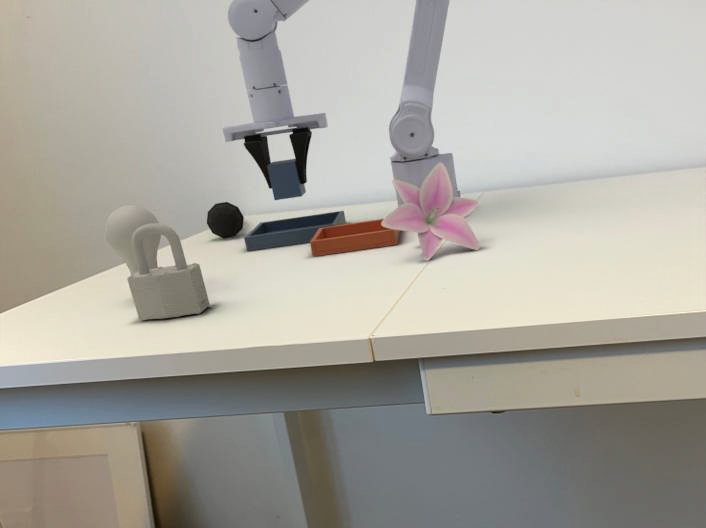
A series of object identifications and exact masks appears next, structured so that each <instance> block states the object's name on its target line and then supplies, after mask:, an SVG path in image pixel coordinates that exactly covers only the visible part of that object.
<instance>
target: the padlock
mask: <svg viewBox="0 0 706 528" xmlns="http://www.w3.org/2000/svg"><path fill="white" fill-rule="evenodd" d="M150 234H161V236H164V237H165V238H166V239H167V242H168V244H169V245H170V250H171V253H172V257H173V261H174V264H175V265H168V266H158V268H155V269H149V266H148V263H147V259H146V256H145V252H144V249H143V238H144V237H145V236H147V235H150ZM131 244H132V250H133V254H134V257H135V260H136V264H137V267H138V272H136V273H134V274H133V275H131V274H130V275H129V276H127V283H128V286H129V290H130V293H131V297H132V300H133V304H134V307H135V311H136V315H137V316H138V317H137V318H138V320H140V321H146V320H157V319H158V320H164V319H169V318H170V319H171V318H181V317H182V316H189V315H194V314H195V315H200V314H201V313H203V311H204V310H206V309H207V308H208V307H209V306H210V305H211V304H210V300H209V296H208V292H207V288H206V284H205V280H204V276H203V272H202V269H201V265H200V263H196V262H193V263H192V264H191V263H190V264H187V260H186V256H185V252H184V248H183V245H182V242H181V239H180V238H179V235H178V233H177V232H176V230H174V229H173V228H172V227H171V226H169V225H167V224H165V223H160V222H159V223H152V224H146V225H143V226H141V227H139V228H137V229H136V231H135V232H134V233H133V235H132V239H131Z"/></svg>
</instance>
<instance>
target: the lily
mask: <svg viewBox="0 0 706 528" xmlns="http://www.w3.org/2000/svg"><path fill="white" fill-rule="evenodd" d="M391 181H392V185H393V187H394V189H396V190H397V192H398V194H399V195H400V197H401V199H402V200H403V202H404V203H405V204H402V205H401V206H399V207H398V206H397V207H396V208H395V209H393V210H392V211H391V212H390V213H388V215H386V216H385V217H384V218H383V219H384V220H383V221H382V222H381V225H382V226H383V227H386V228H389V229H396V230H400V231H403V232H411V233H415V234H416V233H417V238H418V243H419V247H420V249H421V253H422V256H423V259H424V260H425V261H426V262H428V261H430V260H431V258H432V257H434V255H435V254H436V252H437V250H439V248H440V245H441V244H442V242H443V240H445V241H448V242H451V243H454V244H457V245H459V246H462V247H465V248H468V249H471V250H475V251H479V250H480V248H481V247H480V243H479V241H478V238H477V236H476V234H475V232H474V231H473V229H472V227H471V226H470V225H469V222H467V221H466V220H465V217H466V216H468V215H469V214H470V213H472V212H473V211H474V210H476V208H477V207H478V206H480V205H479V204H480V202H479V201H477V200H475V199H472V198H468V197H462V196H461V197H453V189H452V185H451V181H450V178H449V175H448V172H447V169H446V167H445V166H444V164H443V163H438V164H437V165H436V166H435V167H434V168H433V169H432V170H431V172H430V173H429V175H428V176H427V178H426V179H425V181H424V182H423V184H422V186H421V189H420V188H418V187H416V186H414V185H412V184H409V183H406V182H403V181H400V180H394V179H392V180H391ZM396 190H395V191H396Z"/></svg>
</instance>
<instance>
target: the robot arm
mask: <svg viewBox="0 0 706 528" xmlns="http://www.w3.org/2000/svg"><path fill="white" fill-rule="evenodd" d="M309 2H310V0H231V3H230V4H229V6H228V10H227V21H228V24H229V26H230V29H232V31H233V32H234V33H235V34H236V38H235V39H236V46H237V49H238V51H239V62H240V66H241V71H242V75H243V80H244V84H245V85H244V86H245V89H246V93H247V98H248V102H249V107H250V111H251V116H252V121H253V122H251V123H250V122H249V123H244V124H238V125H232V126H224V127H223V128H222V133H223V136H224V141H225V142H226V143H229V142H234V141H240V140H244V142H243V146H244V148H245V150H247V152H248V154H249V155H250V156H251V157H252V158H253V160H254V162H255V163H256V164H257V166H258V167H259V169H260V171H261V173H262V175H263V177H264V179H265V182H266V184H267V186H268V189H269V190H270V189H271V190H272V186H271V182H270V177H269V172H268V168H267V165H269V164H270V163H272V162H271V155H270V149H269V140H268V136H275V135H281V134H288V133H289V135H288V137H289V140H290V143H291V147H292V150H293V155H294V159H296V163H297V170H298V176H299V180H300V184H304V185H305V184H306V183H307V182H308V179H307V163H308V156H309V155H308V154H309V149H310V143H311V141H312V136H313V133H312V132H313V131H311V130H317V129H326V128H327V127H328V126H329V123H328V119H327V113H326V112H322V113H320V112H319V113H313V114H306V115H298V116H295V115H294V110H293V104H292V99H291V95H290V90H289V89H290V88H289V85H288V80H287V75H286V74H287V73H286V70H285V65H284V61H283V55H282V51H281V49H280V47H279V42H278V37H277V33H276V32H277V29H278V22H286V21H287V20H288V19H290V18H291V17H292V16H293V15H294V14H295V13H296V12H298V11H299V10H300V9H301V8H302V7H303V6H305V5H306V4H307V3H309ZM449 6H450V0H415V6H414V12H413V18H412V25H411V31H410V32H411V33H410V38H409V44H408V50H407V57H406V62H405V68H404V70H405V71H404V75H403V81H402V88H401V93H400V97H399V104H398V107H397V110H396V112H395V114H394V115H393V116H392V118H391V119H390V122H389V125H388V133H389V140H390V144H391V146H392V148H393V149H394V150H395V152H394V154H393V155H391V156H390V157H389V159H390V165H391V172H392V177H393V180H400V181H403V182H406V183H409V184H412V185H414V186H416V187H418V188H420V189H421V186H422V184H423V182H424V181H425V179H426V178H427V176H428V175H429V173H430V172H431V170H432V169H433V168H434V167H435V166H436V165H437V164H438V163H443V164H444V166H445V167H446V169H447V172H448V175H449V178H450V181H451V185H452V189H453V197H461V198H462V195H461V190H458V185H457V184H458V183H457V176H456V170H455V162H454V156H453V153H452V152H448V153H447V152H446V153H440V151H439V148H437V147H434V146H433V144H434V141H435V128H434V126H433V123H432V112H433V105H434V94H435V88H436V81H437V75H438V70H439V63H440V58H441V53H442V46H443V40H444V35H445V29H446V23H447V18H448V11H449ZM286 126H287V127H288V128H283V129H278V130H276V129H275V130H271V131H265V130H268V129H273V128H281V127H286ZM394 189H395V188H394ZM395 195H396V201H397V208H398V207H399V206H401V205H402V204H405V203H404V202H403V200H402V199H401V197H400V195H399V194H398V192H397V190H396V189H395Z"/></svg>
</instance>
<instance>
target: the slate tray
mask: <svg viewBox="0 0 706 528" xmlns="http://www.w3.org/2000/svg"><path fill="white" fill-rule="evenodd" d="M343 224H347V221H346V214H345V211H344V210H339V211H332V212H331V211H330V212H325V213H324V212H323V213H318V214H317V213H316V214H309V215H304V216H298V217H297V216H296V217H289V218H282V219H275V220H269V221H262V222H260V223H258V224H257V225H256V226H255V227H254V228H253V229H252V230H250V231H249V233H247V234H246V235H245V236H244V237H243V239H244V243H245V248H246V251H247V252H251V251H257V250H258V251H259V250H267V249H272V248H279V247H286V246H294V245H300V244H307V243H308V244H309V243H310V241H311V240H312V238H313V237H314V235H315V234H316V232H317V231H318V229H319V228H322V227H323V228H324V227H329V226H336V225H343Z"/></svg>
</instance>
